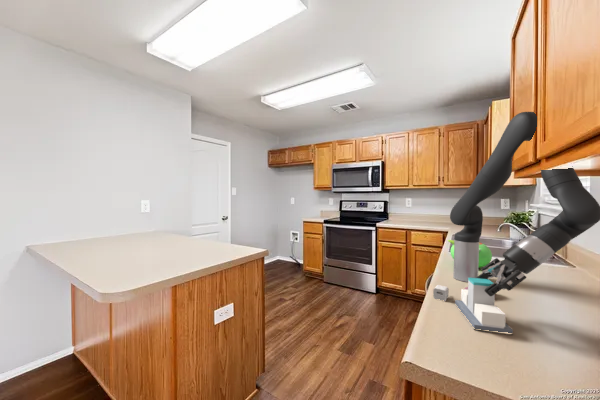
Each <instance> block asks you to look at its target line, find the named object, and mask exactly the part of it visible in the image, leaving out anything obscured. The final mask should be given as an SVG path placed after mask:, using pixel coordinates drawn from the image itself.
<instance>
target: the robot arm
mask: <svg viewBox="0 0 600 400" xmlns="http://www.w3.org/2000/svg"><path fill="white" fill-rule="evenodd" d="M534 112H535V111H522V112H519V113H517V114H515V116H513V117H512V119H511V120H510V121H509V122H508V123H507V125H506V128H505V129H504V131H503V133H502V134H501V137H500V139H499V141H498V143H497V145H495V146H496V147H494V149H493V151H492V153H491V155H490V156H489V157H488V159H487V160H486V162H485V163H484V165H483V166H482V167H481V169H480V171H479V172H478V173H477V175H476V177H475V178H474V179H473V182H472V183H471V184H470V186H469V187H468V189H467V190H466V191H465V192H464V194H463V195H462V196H461V197H460V198H459V200H458V201H457V202H456V203H455V204H454V206H453V207H452V209H451V210H450V214H449V219H450V222H451V223H452V224H454V225H455V226H463V228H462V230H460V231H457V232H456V233H454V236H453V237H454V239H453V241H454V259H453V278H454V279H455V280H457V281H461V282H466V283H468V278H479V279H492V278H497V279H496V281H495V282H493V284H491V285H490V286H489V287H487V288H486V289H485V290H484V291H485V292H486V293H487V294H488V295H489V296H493V295H494V294H497V293H498V292H500V291H501V290H507V291H511V290H513V289H514V288H515V287H517V286H518V285H519V284H520V283H522V282H523V281H524V280H526V279H527V276H526V275H528V274H530V273H531V272H532V271H534V270H535V269H536V268H538V267H540V265H542V264H544V263H545V262H547V260H550V258H551V257H552V256H553V255H554V254H556V253H557V252H559V251H560V250H561V249H563V248H564V247H565V246H567V244H569V242H571V241H572V240H573V239H576V238H577V237H578V236H580V235H581V234H583V233H585V232H586V231H588V230H589V229H591V228H592V227H594V226H595V225H596V224H597V223H599V222H600V203H599V202H598V201H597V200H596V198H595V197H594V196H593V195H592V194H591V192H589V191H588V190H587V189H586V187H584V185H583V183H582V181H581V179H580V177H579V175H578V174H577V172H576V171H575V170H576V169H574V167H573V168H568V169H552V170H541V169H540V175H541V178H542V182H544V184H545V186H546V189H547V190H548V193H549V194H550V196H551V197H552V198H553V199H555V200H557V202H558V203H559V205H560V207H561V209H562V210H561V212H560V213H559V214H558V215H557V216H555V217H554V218H552V219H551V220H550V221H549V222H547V223H545V224H543V225H541V226H539V227H538V228H536V229H535V230H534V231H533V232H531V233H530V234H529V235H527V236H526V237H523V238H522V239H519V241H518V242H517V243H514V245H512V246H511V247H509V248H508V249H507V250H505V251H504V252H503V253H502V257H503V258H504V259H502V260H500V258H497V257H496V258H494V259H493V260H491V261H490V263H489V264H487V265H486V266H484V267H481V269H480V270H481V273H480V274H479V268H480V267H479V242H480V238H481V236H482V232H483V230H482V229H483V221H484V219H483V218H484V215H483V211H482V209H481V206H479V205H478V204H480V203H482V202H484V201H485V200H487V199H488V198H490V197H491V196H493V195H494V194H496V193H498V192H499V191H500V190H501V189H502V188H503V187H504V185H505V184H506V183H507V182H508V181H509V179H510V177H511V175H512V172H513V171H512V170H513V157H514V155H515V153H516V152H517V151H518V149H519V148H520V147H521V145H522V144H523V143H524V142H531V141H530V140H531V139H532V137H533V135H534V133H535V131H536V127H537V116H536V114H535V113H534ZM525 274H526V275H525Z"/></svg>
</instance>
